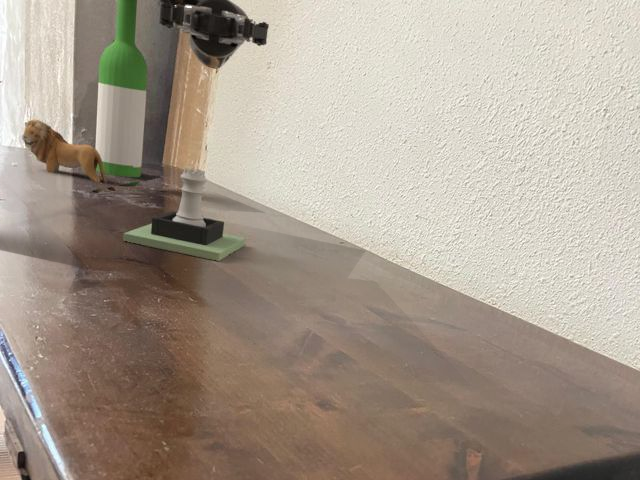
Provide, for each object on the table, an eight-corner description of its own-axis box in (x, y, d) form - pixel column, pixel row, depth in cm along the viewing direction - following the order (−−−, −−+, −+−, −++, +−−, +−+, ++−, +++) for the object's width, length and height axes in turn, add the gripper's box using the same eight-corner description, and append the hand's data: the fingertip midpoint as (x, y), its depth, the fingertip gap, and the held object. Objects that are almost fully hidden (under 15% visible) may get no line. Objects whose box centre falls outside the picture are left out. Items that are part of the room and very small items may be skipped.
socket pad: (123, 241, 90) (124, 216, 89) (159, 227, 101) (160, 205, 99) (218, 261, 89) (221, 236, 88) (244, 245, 100) (247, 223, 98)
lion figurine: (16, 179, 116) (16, 117, 112) (29, 176, 120) (30, 116, 117) (110, 196, 116) (113, 135, 112) (120, 192, 121) (123, 134, 117)
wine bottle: (86, 176, 130) (94, -20, 118) (128, 180, 135) (140, -8, 122) (104, 185, 125) (115, -19, 112) (147, 189, 129) (162, -7, 117)
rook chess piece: (205, 234, 97) (211, 170, 94) (206, 241, 93) (213, 175, 90) (170, 229, 96) (175, 164, 93) (169, 236, 92) (175, 169, 89)
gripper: (169, -11, 106) (158, -25, 92) (268, 9, 108) (272, -1, 94) (165, 47, 109) (153, 42, 95) (261, 66, 111) (264, 64, 97)
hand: (212, 21), depth 94 cm, fingers open, 8 cm apart
